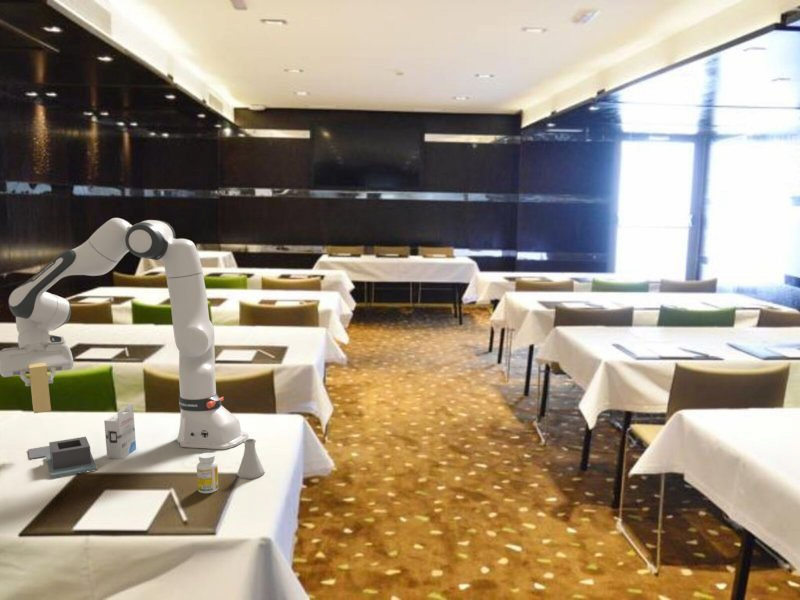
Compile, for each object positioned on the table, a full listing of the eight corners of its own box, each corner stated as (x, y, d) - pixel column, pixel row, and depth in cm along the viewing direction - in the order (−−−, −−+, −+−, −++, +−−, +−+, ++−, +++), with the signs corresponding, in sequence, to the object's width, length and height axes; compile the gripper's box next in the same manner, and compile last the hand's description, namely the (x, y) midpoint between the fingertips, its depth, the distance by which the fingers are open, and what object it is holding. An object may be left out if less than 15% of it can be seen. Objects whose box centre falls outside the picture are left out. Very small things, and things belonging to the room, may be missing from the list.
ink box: (122, 448, 232) (119, 402, 230) (136, 449, 231) (133, 402, 229) (106, 458, 224) (102, 410, 222) (121, 459, 223) (117, 411, 221)
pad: (28, 450, 231) (28, 449, 231) (60, 445, 236) (60, 444, 236) (29, 459, 224) (29, 458, 223) (62, 454, 228) (62, 452, 228)
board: (46, 458, 225) (45, 455, 224) (89, 451, 230) (88, 447, 230) (51, 478, 209) (50, 475, 209) (97, 470, 215) (96, 466, 214)
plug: (33, 409, 228) (28, 364, 226) (49, 407, 231) (45, 362, 228) (34, 413, 224) (29, 367, 222) (51, 410, 227) (46, 365, 224)
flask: (251, 481, 206) (250, 446, 204) (232, 476, 209) (230, 442, 208) (269, 473, 212) (268, 438, 210) (250, 468, 215) (249, 434, 214)
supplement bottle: (205, 495, 196) (204, 460, 195) (193, 490, 200) (191, 455, 198) (222, 489, 201) (221, 454, 199) (210, 484, 204) (208, 450, 202)
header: (50, 458, 221) (49, 442, 221) (87, 452, 226) (85, 436, 225) (53, 469, 213) (52, 452, 212) (91, 463, 217) (90, 446, 217)
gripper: (-4, 343, 225) (-1, 382, 218) (70, 336, 235) (76, 373, 228) (-3, 355, 230) (0, 394, 223) (69, 347, 240) (75, 384, 233)
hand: (39, 383), depth 226 cm, fingers closed on plug, 5 cm apart
